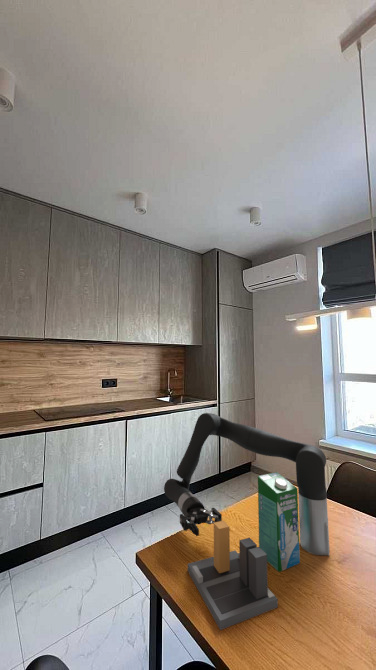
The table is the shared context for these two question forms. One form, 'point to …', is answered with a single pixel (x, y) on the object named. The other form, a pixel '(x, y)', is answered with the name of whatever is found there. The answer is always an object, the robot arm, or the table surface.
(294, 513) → the milk carton
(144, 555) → the table surface
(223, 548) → the tall tan rectangular block
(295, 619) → the table surface
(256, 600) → the grey slotted tray
